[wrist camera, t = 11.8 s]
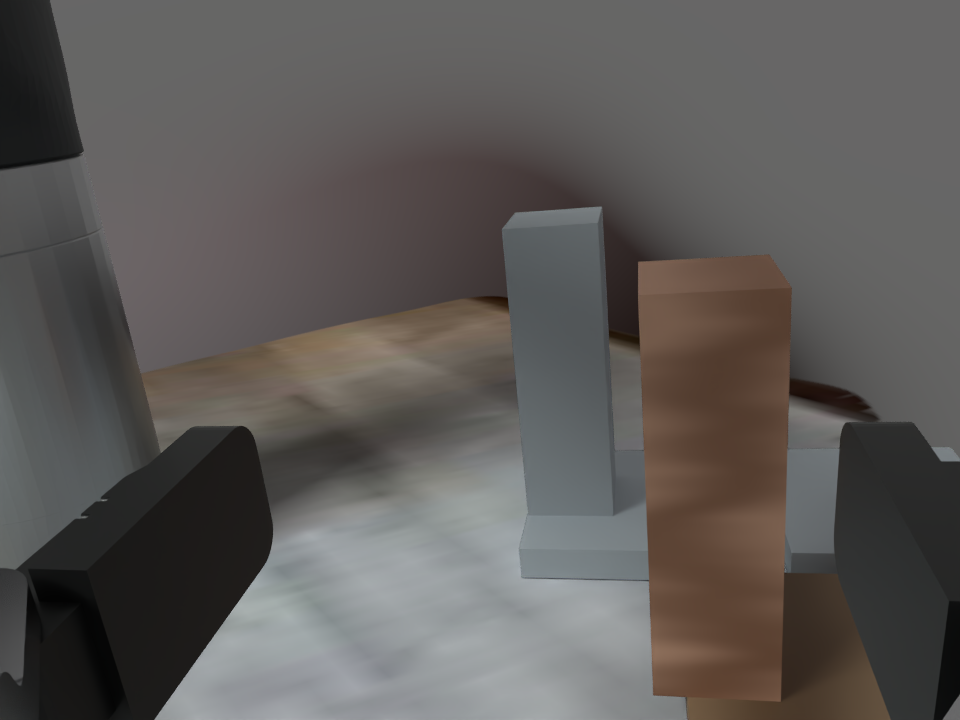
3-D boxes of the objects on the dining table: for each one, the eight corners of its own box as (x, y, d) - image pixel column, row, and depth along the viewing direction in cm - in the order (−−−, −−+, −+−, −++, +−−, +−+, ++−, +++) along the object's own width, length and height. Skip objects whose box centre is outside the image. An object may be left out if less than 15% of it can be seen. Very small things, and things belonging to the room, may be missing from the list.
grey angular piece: (521, 577, 32) (488, 243, 27) (544, 475, 40) (522, 202, 35) (1033, 588, 28) (1089, 205, 24) (947, 473, 36) (977, 169, 32)
